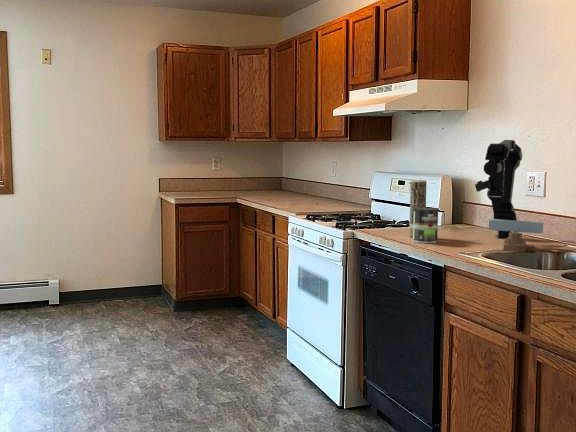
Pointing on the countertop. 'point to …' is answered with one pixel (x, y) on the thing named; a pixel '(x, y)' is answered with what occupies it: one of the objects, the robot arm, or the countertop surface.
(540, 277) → the countertop surface
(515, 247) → the ridge stand
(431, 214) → the coffee can
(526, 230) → the beam
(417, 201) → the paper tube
